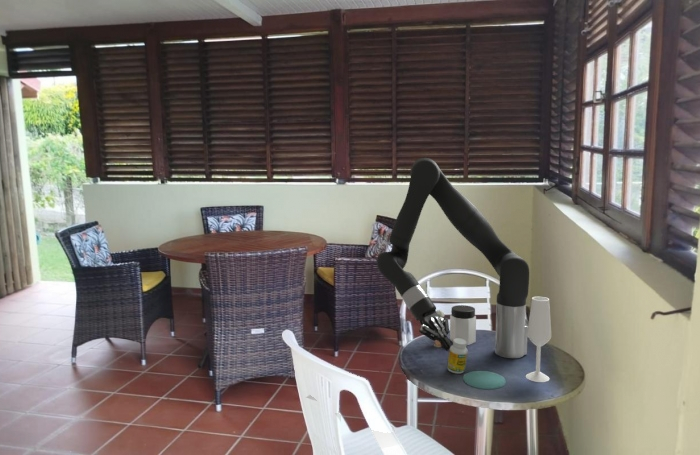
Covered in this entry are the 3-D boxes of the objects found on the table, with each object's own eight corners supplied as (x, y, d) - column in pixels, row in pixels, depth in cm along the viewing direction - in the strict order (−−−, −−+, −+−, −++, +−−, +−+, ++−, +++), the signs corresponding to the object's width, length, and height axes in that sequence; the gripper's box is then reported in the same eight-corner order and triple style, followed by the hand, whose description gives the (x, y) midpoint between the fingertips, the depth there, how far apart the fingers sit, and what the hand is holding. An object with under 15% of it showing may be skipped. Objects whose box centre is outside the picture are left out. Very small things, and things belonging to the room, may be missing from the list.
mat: (489, 369, 167) (489, 368, 167) (514, 385, 156) (514, 384, 156) (455, 375, 163) (455, 374, 163) (478, 391, 152) (478, 390, 152)
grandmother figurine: (441, 341, 192) (442, 306, 190) (450, 344, 189) (450, 309, 188) (427, 347, 187) (427, 311, 185) (436, 350, 184) (436, 313, 183)
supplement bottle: (455, 364, 170) (460, 335, 168) (468, 372, 166) (473, 343, 164) (443, 367, 167) (447, 338, 165) (455, 375, 163) (460, 346, 161)
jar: (460, 335, 199) (461, 303, 197) (479, 340, 193) (480, 308, 191) (445, 341, 192) (445, 308, 191) (464, 347, 187) (465, 313, 185)
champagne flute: (529, 371, 166) (532, 294, 163) (552, 376, 162) (555, 297, 159) (522, 378, 161) (525, 299, 157) (545, 384, 157) (549, 303, 153)
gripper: (412, 300, 167) (444, 348, 160) (437, 292, 177) (469, 337, 170) (398, 313, 172) (429, 360, 165) (424, 305, 181) (455, 349, 174)
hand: (449, 348), depth 167 cm, fingers closed
